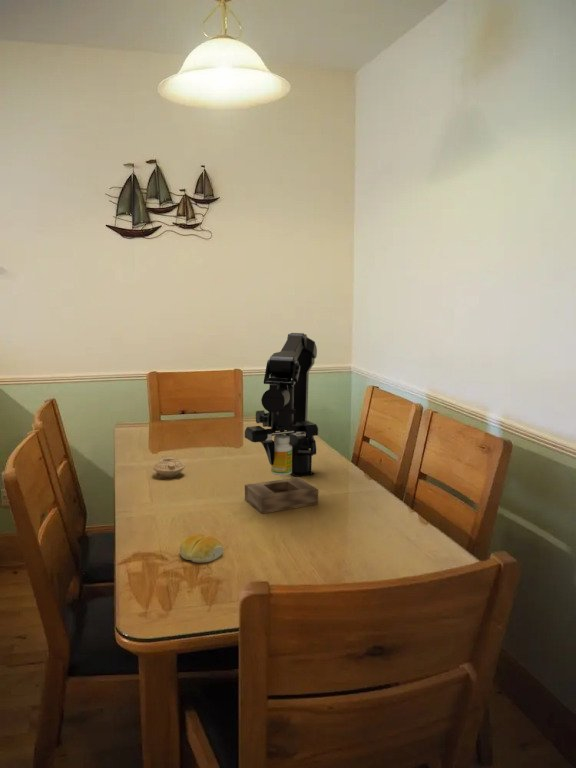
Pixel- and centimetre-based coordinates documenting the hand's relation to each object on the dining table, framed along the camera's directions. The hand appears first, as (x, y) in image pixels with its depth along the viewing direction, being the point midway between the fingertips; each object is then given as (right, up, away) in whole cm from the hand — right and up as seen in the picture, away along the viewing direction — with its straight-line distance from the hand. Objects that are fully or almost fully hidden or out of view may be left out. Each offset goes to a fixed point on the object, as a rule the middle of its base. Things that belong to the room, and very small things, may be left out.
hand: (281, 463), depth 156 cm
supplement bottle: (0, -3, 0) cm, 3 cm away
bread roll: (-17, -16, -30) cm, 37 cm away
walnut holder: (0, -10, +2) cm, 10 cm away
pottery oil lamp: (-34, -6, +24) cm, 42 cm away
